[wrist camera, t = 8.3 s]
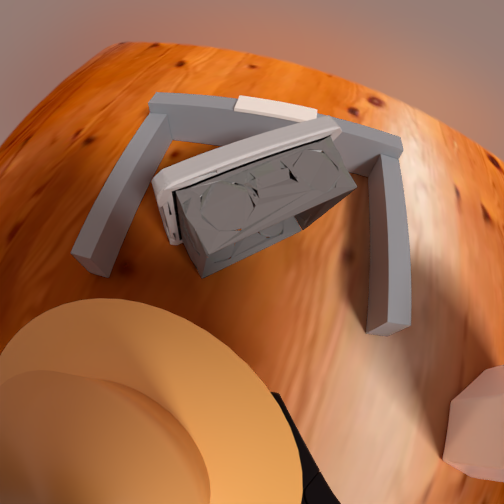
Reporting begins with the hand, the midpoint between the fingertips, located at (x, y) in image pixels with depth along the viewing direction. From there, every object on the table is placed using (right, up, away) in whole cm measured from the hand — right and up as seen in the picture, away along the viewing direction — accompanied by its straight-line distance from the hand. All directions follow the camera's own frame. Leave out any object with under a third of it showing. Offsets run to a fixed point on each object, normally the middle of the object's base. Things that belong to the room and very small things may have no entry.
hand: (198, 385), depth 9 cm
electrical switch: (+2, +5, +11) cm, 12 cm away
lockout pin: (-1, -4, +5) cm, 7 cm away
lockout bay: (+2, +7, +12) cm, 14 cm away
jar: (+19, -9, +6) cm, 22 cm away
